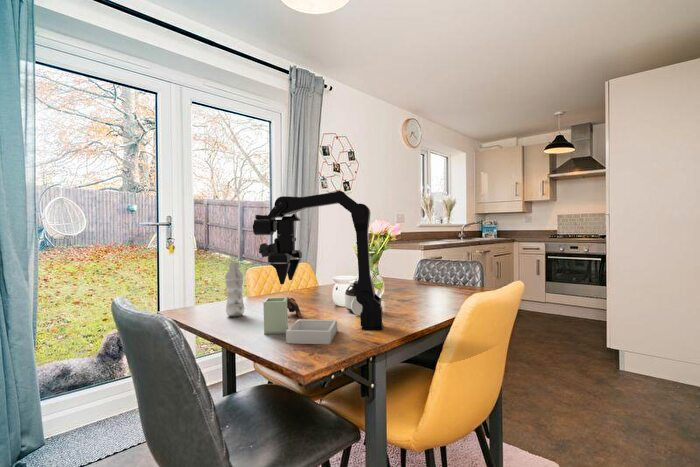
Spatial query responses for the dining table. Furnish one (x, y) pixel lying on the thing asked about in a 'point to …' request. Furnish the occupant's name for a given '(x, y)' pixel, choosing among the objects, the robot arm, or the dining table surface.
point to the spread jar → (352, 300)
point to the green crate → (275, 316)
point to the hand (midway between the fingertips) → (286, 282)
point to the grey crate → (311, 332)
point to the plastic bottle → (234, 290)
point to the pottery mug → (293, 306)
